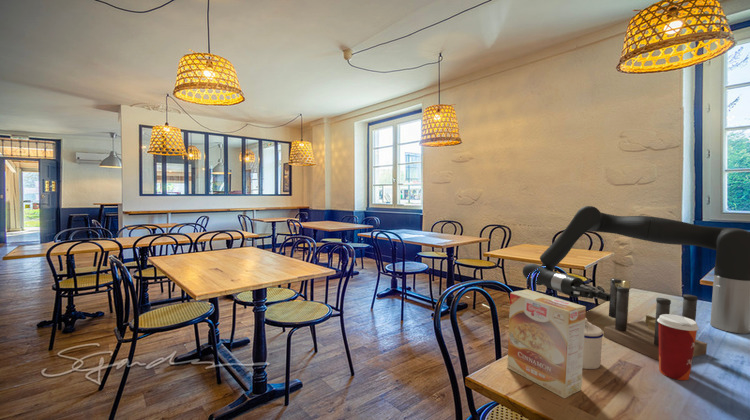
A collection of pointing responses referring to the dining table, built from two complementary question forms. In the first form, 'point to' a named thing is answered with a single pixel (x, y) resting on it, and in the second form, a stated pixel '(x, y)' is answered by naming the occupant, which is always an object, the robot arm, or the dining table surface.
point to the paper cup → (676, 345)
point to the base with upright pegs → (648, 325)
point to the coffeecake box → (546, 341)
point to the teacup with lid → (592, 346)
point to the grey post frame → (613, 295)
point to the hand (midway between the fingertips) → (610, 298)
